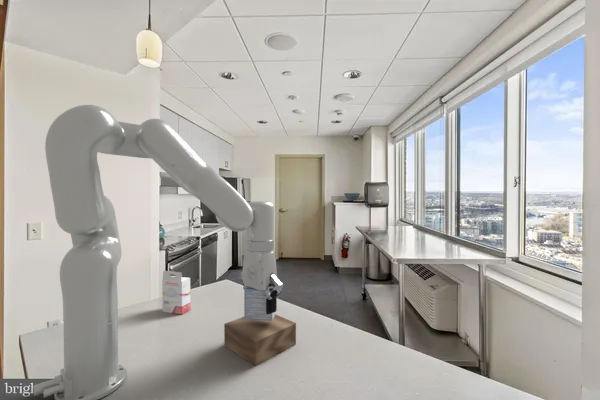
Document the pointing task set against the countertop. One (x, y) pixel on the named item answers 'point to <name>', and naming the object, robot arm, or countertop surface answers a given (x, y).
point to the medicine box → (256, 305)
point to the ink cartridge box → (175, 293)
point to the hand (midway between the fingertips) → (260, 307)
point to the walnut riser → (259, 338)
